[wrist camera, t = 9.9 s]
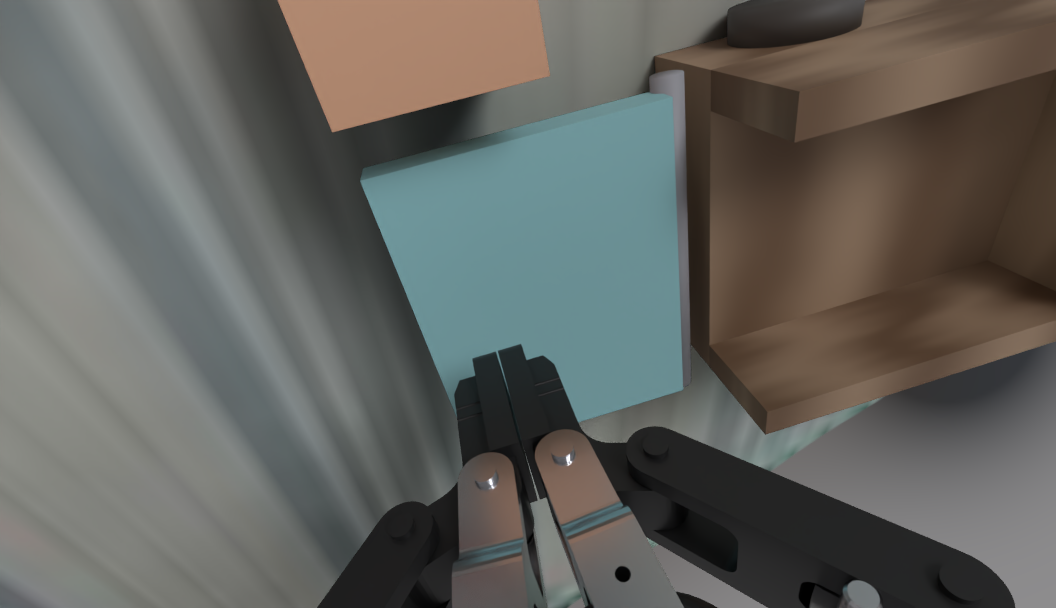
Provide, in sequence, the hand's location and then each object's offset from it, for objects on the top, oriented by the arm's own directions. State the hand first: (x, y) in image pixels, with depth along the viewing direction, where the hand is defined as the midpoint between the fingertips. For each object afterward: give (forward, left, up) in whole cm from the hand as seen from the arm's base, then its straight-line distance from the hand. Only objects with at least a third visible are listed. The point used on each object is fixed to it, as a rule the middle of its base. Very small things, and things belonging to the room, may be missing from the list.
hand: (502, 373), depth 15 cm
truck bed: (-18, 0, -8) cm, 19 cm away
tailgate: (-7, 0, -4) cm, 8 cm away
